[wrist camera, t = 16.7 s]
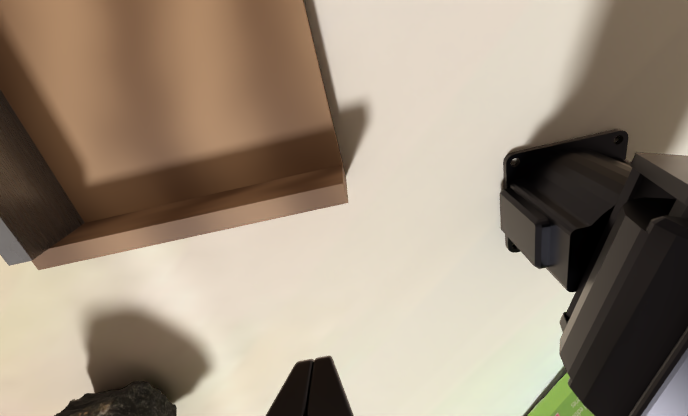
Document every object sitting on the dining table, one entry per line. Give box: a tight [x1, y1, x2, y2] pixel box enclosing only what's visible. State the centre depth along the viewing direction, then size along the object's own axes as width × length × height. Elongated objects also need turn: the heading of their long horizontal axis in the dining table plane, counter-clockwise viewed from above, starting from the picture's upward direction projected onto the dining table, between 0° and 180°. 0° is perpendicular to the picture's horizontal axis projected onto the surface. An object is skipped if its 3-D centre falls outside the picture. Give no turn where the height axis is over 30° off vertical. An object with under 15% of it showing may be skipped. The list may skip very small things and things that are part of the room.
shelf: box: [0, 0, 348, 270], centre depth 16 cm, size 16×12×4 cm
